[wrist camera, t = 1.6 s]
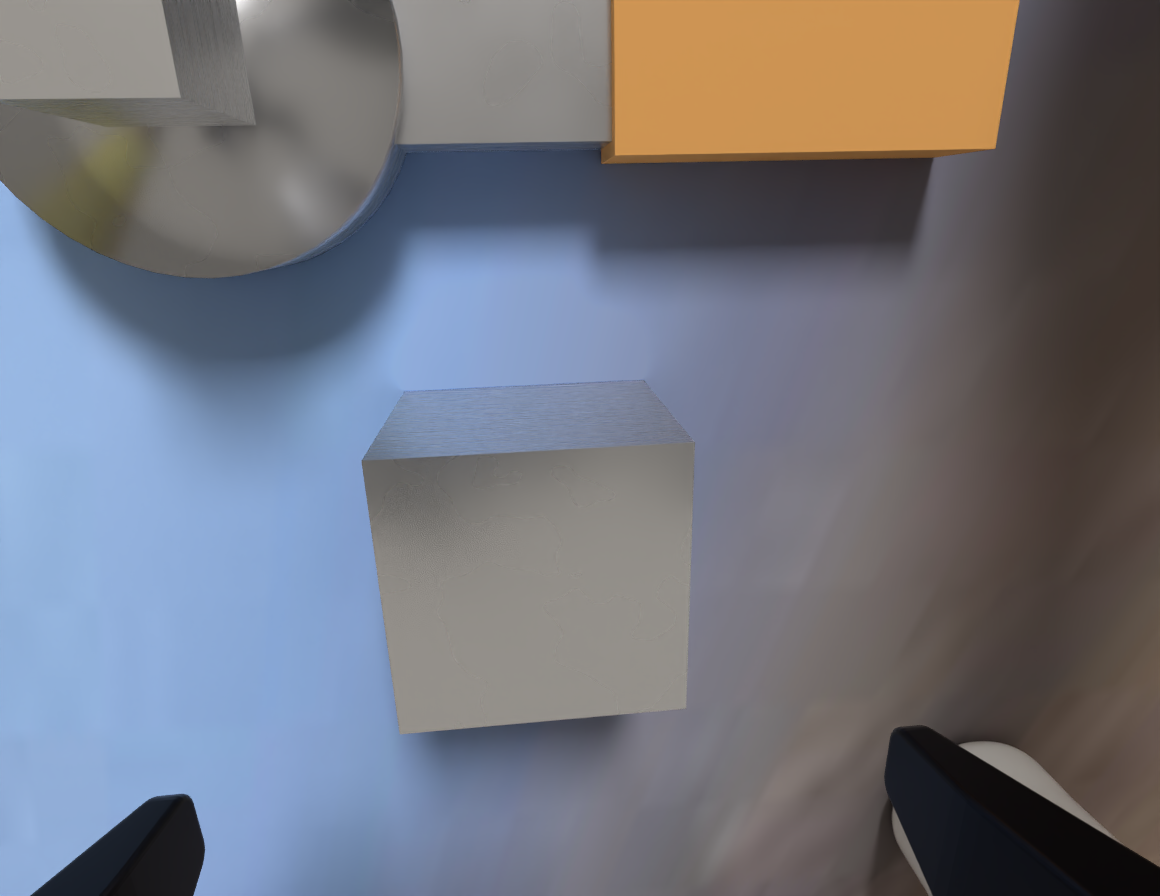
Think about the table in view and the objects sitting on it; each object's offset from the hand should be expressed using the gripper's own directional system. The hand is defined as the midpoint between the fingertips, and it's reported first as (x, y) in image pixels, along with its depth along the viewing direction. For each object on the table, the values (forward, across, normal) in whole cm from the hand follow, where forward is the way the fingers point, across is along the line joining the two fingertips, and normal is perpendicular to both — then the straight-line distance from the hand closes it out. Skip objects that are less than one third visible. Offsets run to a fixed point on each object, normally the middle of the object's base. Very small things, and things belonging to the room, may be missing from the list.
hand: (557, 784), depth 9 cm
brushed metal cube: (+10, 0, 0) cm, 10 cm away
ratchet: (+10, 0, -10) cm, 14 cm away
